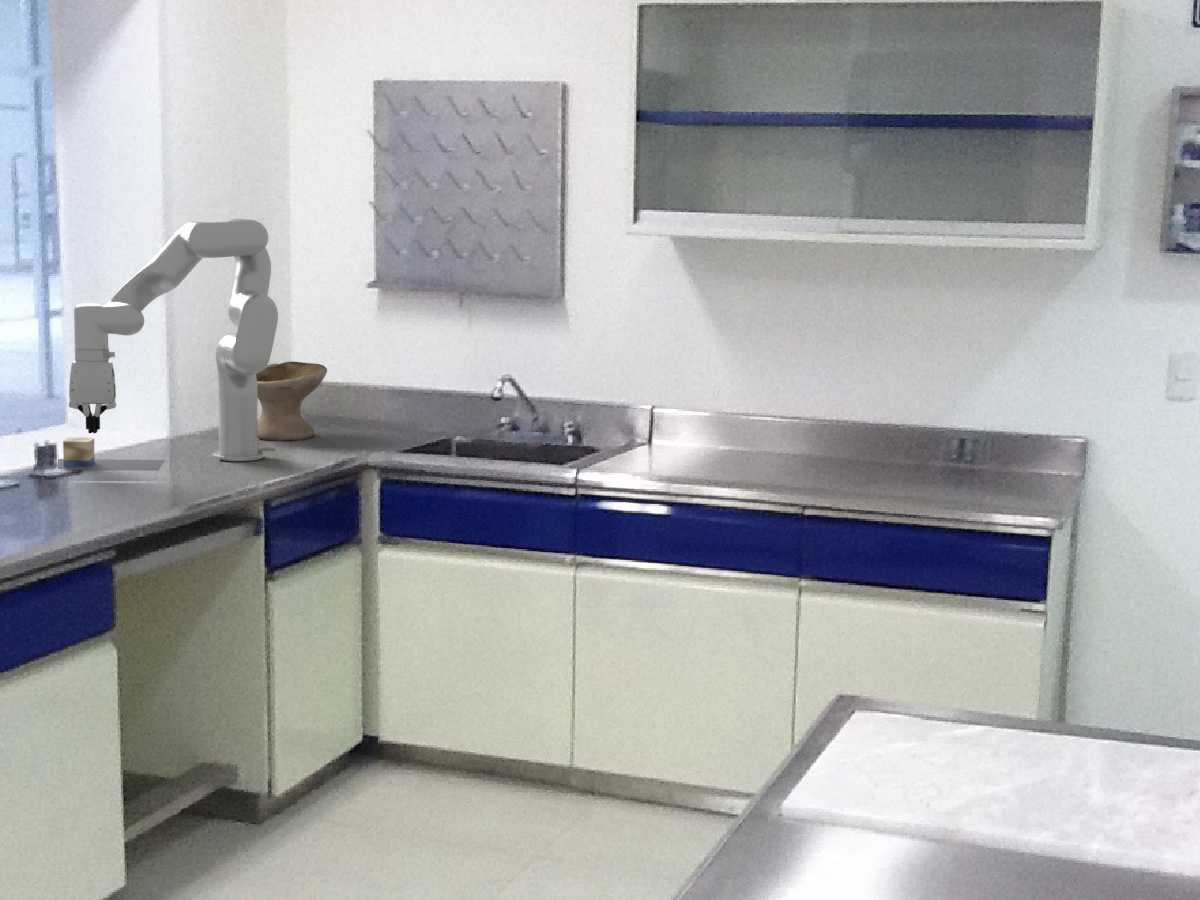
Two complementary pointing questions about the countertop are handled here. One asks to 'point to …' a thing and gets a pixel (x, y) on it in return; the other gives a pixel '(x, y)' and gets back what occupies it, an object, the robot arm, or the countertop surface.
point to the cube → (78, 452)
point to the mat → (116, 465)
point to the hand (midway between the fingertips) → (93, 432)
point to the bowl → (286, 399)
